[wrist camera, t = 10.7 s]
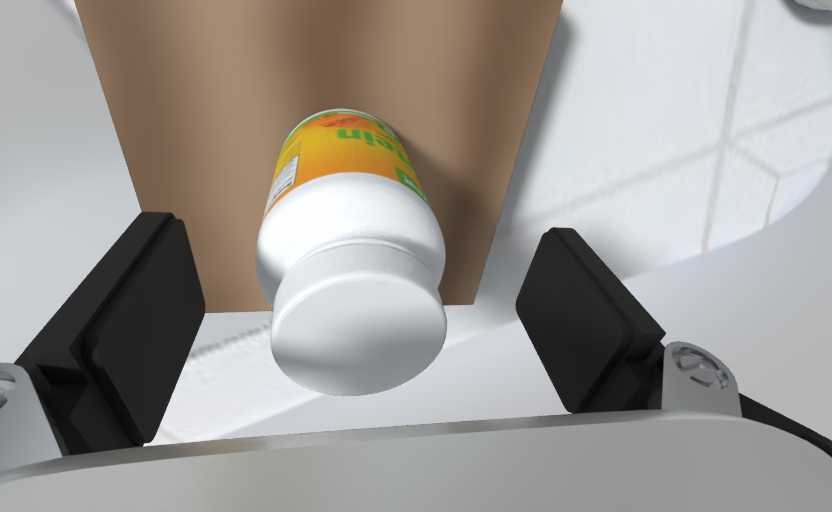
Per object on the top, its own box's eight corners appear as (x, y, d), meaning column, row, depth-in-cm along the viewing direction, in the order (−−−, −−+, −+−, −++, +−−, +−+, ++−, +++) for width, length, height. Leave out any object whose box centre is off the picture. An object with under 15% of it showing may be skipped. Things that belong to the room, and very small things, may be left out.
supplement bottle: (430, 149, 16) (525, 299, 9) (367, 241, 18) (398, 427, 11) (314, 76, 14) (303, 197, 6) (257, 193, 16) (196, 390, 8)
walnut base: (534, -25, 16) (570, -26, 13) (459, 273, 25) (473, 304, 22) (89, -110, 12) (31, -132, 10) (191, 276, 21) (174, 314, 19)
